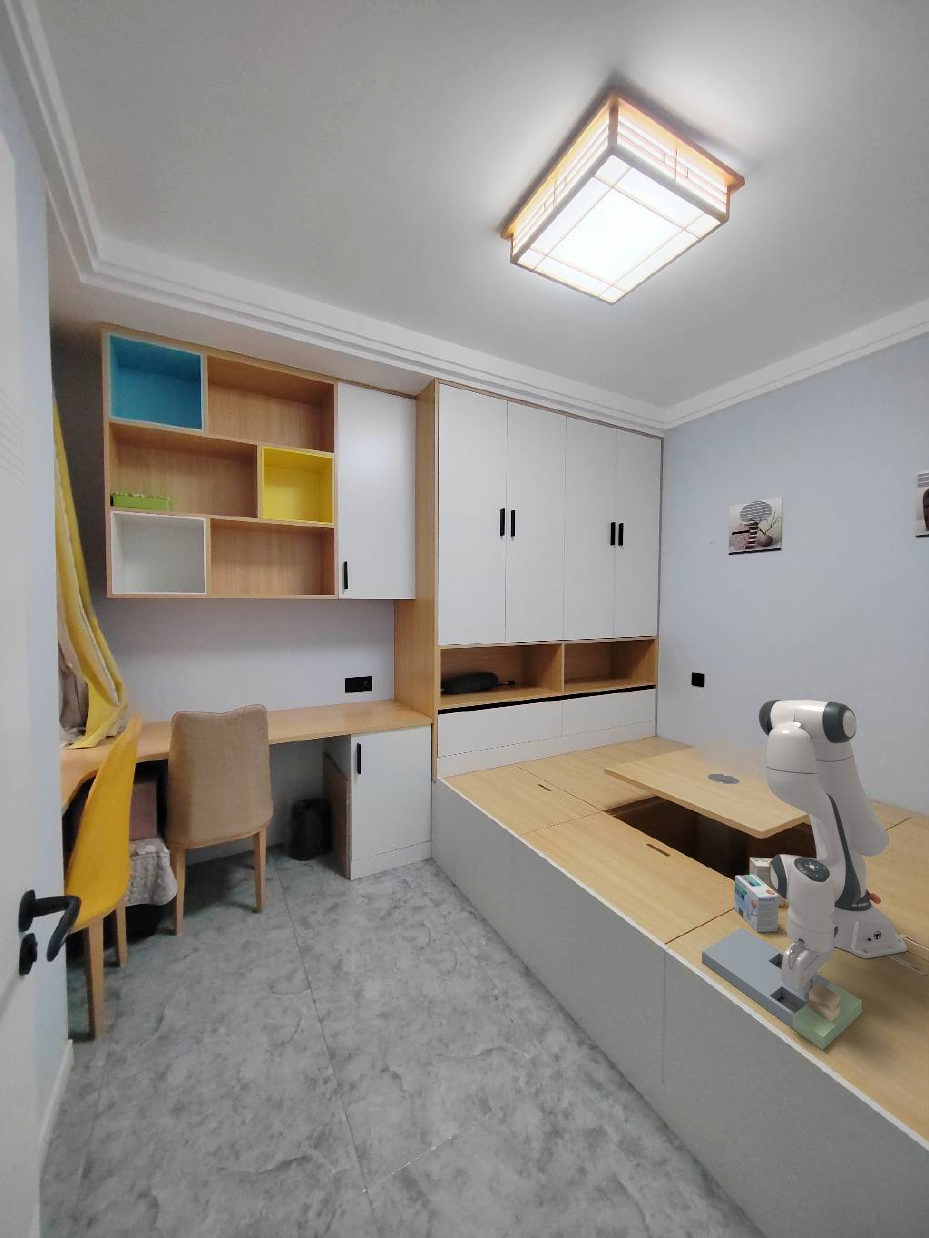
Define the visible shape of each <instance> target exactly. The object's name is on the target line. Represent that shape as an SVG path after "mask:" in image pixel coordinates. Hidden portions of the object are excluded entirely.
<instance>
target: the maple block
mask: <svg viewBox="0 0 929 1238" xmlns="http://www.w3.org/2000/svg"><path fill="white" fill-rule="evenodd" d="M840 1000H841V996H839V995H838V994H836V993H834V992H833V991H831V990H829V989H828V988H826V987H824V986H823V985H821V984H819V983H817V984H816V985H815V986H814V987H813V988H812V989H811V990H810V991H809V1008H810V1009H811V1010H813V1011H814V1012H816V1013H817V1014H819V1015H820V1016H822V1017H824V1018H825V1019H827V1020H828V1021H830V1022H832V1021H833V1020H834V1019H835V1018H836V1017H837V1016H838V1015H839V1013H840Z"/></svg>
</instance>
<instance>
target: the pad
mask: <svg viewBox="0 0 929 1238" xmlns="http://www.w3.org/2000/svg"><path fill="white" fill-rule="evenodd" d="M826 988H828V989H829V990H831V991H833V992H834V993H836V994H838V995H839V996H841V1000H840V1013H839V1015H838V1016H837V1017H836V1018H835V1019H834V1020H833V1021H832V1022H830V1021H828V1020H827V1019H825V1018H824V1017H822V1016H820V1015H819V1014H817V1013H816V1012H814V1011H813V1010H811V1009H810V1008H809V1002H808V1003H807V1004H806V1005H805V1006H804V1007H802V1008H801V1009H800V1010H799V1011H798V1012H796V1013H795V1014H794V1015H793V1022H792V1028H791V1029H792V1030H794V1031H796V1032H797V1033H798V1034H799V1035H801V1036H802V1037H803V1038H804V1039H806V1040H808V1041H809V1042H810V1043H812V1044H813V1045H815V1046H816V1047H818V1048H819V1049H820V1050H822V1051H824V1050H825V1049H826V1048H827V1047H828V1046H829V1045H830V1044H831V1043H832V1042H833V1041H835V1040H836V1039H837V1037H838V1036H839V1035H841V1034H842V1033H843V1031H844V1030H845V1029H847V1028H848V1027H849V1026H850V1025H851V1024H852V1023H853V1022H854V1021H856V1019H857V1018H858V1017H859V1016H860V1015H862V1012H863V1011H862V1008H863V1005H862V1004H863V1000H862V999H860V998H858V997H857V996H855V995H853V994H852V993H850V992H848V991H847V990H845V989H843V988H842V987H840V986H838V985H837V984H835V983H834V982H832V983H831V984H830V985H829V986H827V987H826Z"/></svg>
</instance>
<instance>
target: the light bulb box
mask: <svg viewBox="0 0 929 1238" xmlns="http://www.w3.org/2000/svg"><path fill="white" fill-rule="evenodd" d="M733 895H734V897H733V898H734V900H733V901H734V902H733V909H734V910H735V911H736V913H738V914H739V915H740V917H741V918H742V919H743V920H744V921H745V922H746V923H747V924H748V925H749V926H750V927H751V928H752V929H753V930H754V931H755V932H756V933H764V932H765V933H766V932H778V931H779V930H778V929H779V908H780V907H779V895H778V894H777V893H776V892H774V891H773V890H772V889H771V888H770V887H769V886H767V885H766V884H765V883H764V882H763V881H762V880H761V879H759V878H758V877H757V876H756V875H750V874H743V875H735V876H734V894H733Z"/></svg>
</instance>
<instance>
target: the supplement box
mask: <svg viewBox="0 0 929 1238" xmlns="http://www.w3.org/2000/svg"><path fill="white" fill-rule="evenodd" d="M772 859H773V858H768V857H767V858H763V857H761V858H760V857H749V875H756V876H757V877H758V878H759V879H761V880H762V881H763V882H764V883H765V884H766V885H767V886H769V887H770V888H771V889H772V890H773V891H774V892H776V893H777V894H778V895H779V908H783V907H784V898H783V897H781V896H780V894H779V893H778V892H777V891H776V890H775V889H774V888H773V887H772V885H771V883H770V878H769V866H770V862H771V860H772Z"/></svg>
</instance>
